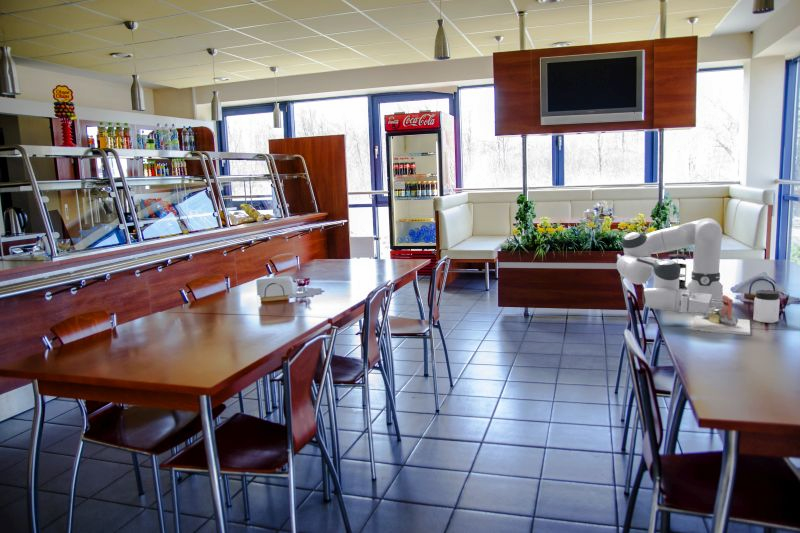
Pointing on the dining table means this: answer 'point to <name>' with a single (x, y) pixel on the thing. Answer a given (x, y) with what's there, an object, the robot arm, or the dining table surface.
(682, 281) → the french press
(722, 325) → the mounting plate
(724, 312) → the lever
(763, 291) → the jar
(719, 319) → the valve body
